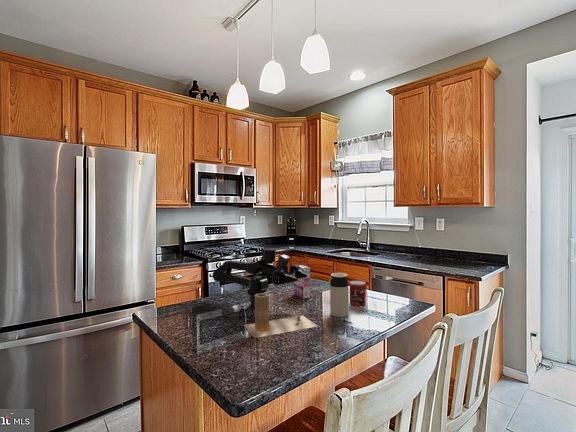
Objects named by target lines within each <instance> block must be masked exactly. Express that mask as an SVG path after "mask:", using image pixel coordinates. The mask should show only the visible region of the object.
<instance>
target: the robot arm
mask: <svg viewBox="0 0 576 432" xmlns="http://www.w3.org/2000/svg"><path fill="white" fill-rule="evenodd" d="M276 253H277V249H276V248H265V247H264V248H262V249H261V256H262V257H261V259H260V260H258V261H250V262H248V261H247V262H246V261H237V260H232V259H230V260H226V261H224V262H223V263H222V264H221V265H220V266H219V267H217V268H216V269H215V270H214V271H213V273H212V278H213V280H214V282H229V283H233V284H237V285H239V286H244V287H247V288H248V289H247V290H246V292H247V294H248V295H249V297H250V303H249V305H248V307H249V308H254V309H255V295H256V294H260V293H265V294H266V293H267V290H268V289H269V285H270V284H269V281H268V277H269V278H271V279H272V281H271V282H272V284H273V285H274V286H279V285H280V286H281V285H284V284H285V285H286V284H290V283H294V282H295V281H297V279H299V278H305V277H308V275H307V274H306V273H304V272H302V271H301V270H300V269H299V265H300V264H293V265H290V266H288V264H289V263H290V260H291V257H290V256H289V255H286V254H281V255H279V257H278V259H277V262H276V257H277V256H276V255H277V254H276ZM275 262H276V265H275V264H274V263H275ZM233 270H237V271H244V272H247V273H248V274H250V275H253V276H250V277H249V276H244V275H241V274H237V273H234V272H233ZM259 274H260V275H259Z"/></svg>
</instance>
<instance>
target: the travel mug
mask: <svg viewBox="0 0 576 432" xmlns="http://www.w3.org/2000/svg"><path fill="white" fill-rule="evenodd" d="M330 277H331V279H330V280H329V289H330V290H329V299H330V303H329V304H330V305H329V306H330V308H329V309H330V311H329V313H330V316H332V317H335V318H345V317H348V316H349V315H350V314H349V312H350V311H349V280H348V279H347V278H348V274H347V273H345V272H333V273H331V274H330Z"/></svg>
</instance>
